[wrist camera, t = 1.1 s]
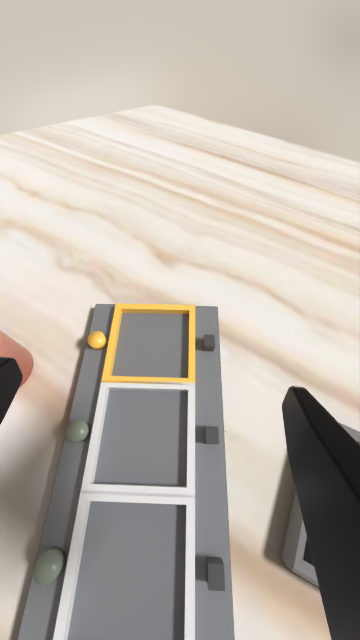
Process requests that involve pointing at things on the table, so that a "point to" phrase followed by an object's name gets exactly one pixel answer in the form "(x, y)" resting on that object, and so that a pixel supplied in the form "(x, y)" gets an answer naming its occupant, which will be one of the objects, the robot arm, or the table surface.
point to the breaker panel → (139, 488)
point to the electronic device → (302, 537)
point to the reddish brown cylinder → (16, 355)
